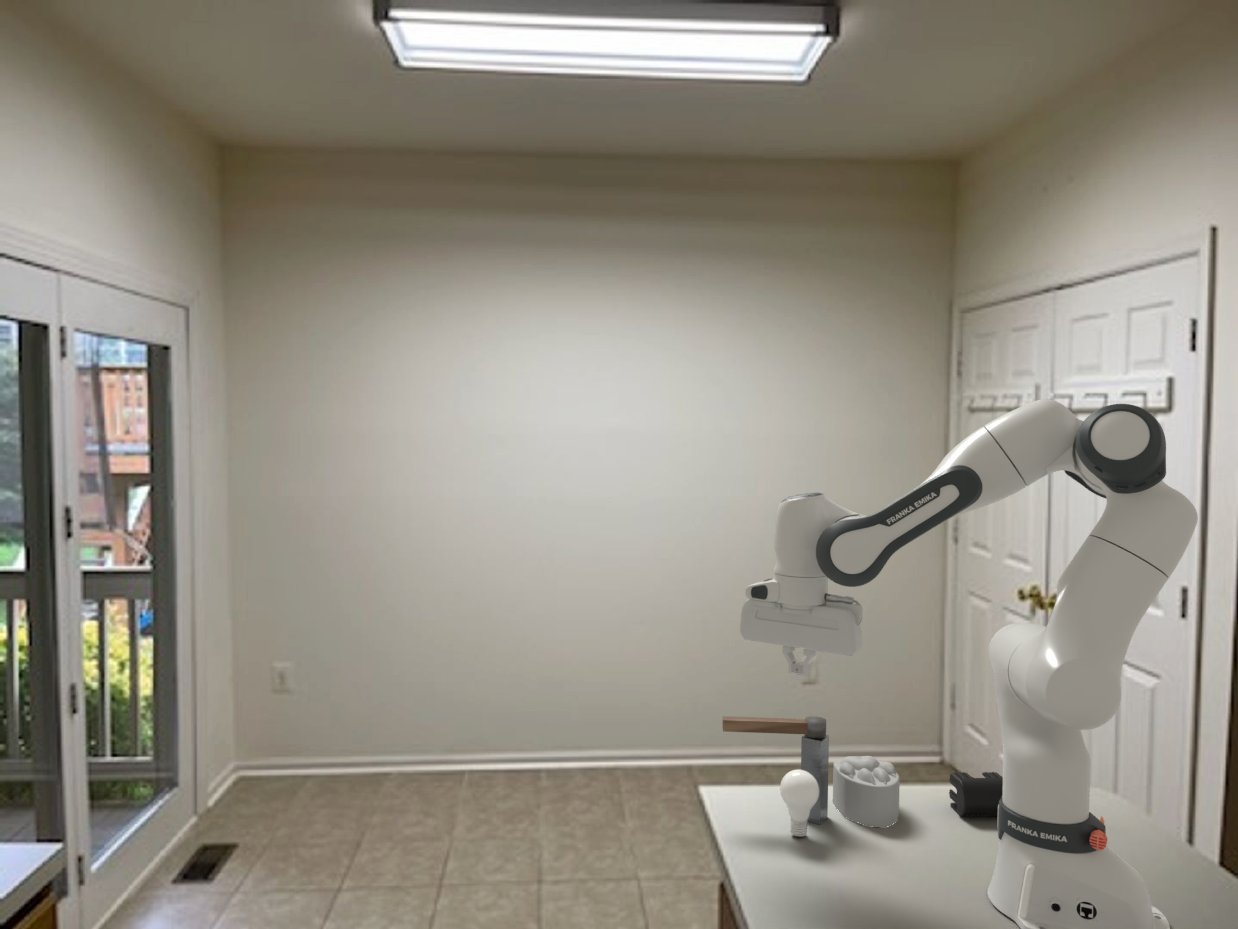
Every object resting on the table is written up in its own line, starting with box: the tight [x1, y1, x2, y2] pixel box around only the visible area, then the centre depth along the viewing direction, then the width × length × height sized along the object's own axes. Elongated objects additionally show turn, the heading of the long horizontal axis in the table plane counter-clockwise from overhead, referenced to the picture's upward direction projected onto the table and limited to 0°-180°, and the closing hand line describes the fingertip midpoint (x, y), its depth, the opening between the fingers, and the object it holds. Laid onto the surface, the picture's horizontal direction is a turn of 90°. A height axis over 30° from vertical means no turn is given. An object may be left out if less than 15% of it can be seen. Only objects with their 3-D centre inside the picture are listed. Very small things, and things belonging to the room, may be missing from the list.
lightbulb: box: [779, 768, 819, 838], centre depth 141 cm, size 6×6×11 cm
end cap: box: [948, 771, 1003, 817], centre depth 151 cm, size 10×7×7 cm
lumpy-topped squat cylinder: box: [832, 755, 901, 827], centre depth 151 cm, size 10×13×9 cm
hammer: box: [722, 715, 827, 738], centre depth 148 cm, size 4×18×3 cm, turn 86°
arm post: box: [800, 734, 830, 825], centre depth 148 cm, size 4×4×14 cm
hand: (798, 674), depth 141 cm, fingers closed
